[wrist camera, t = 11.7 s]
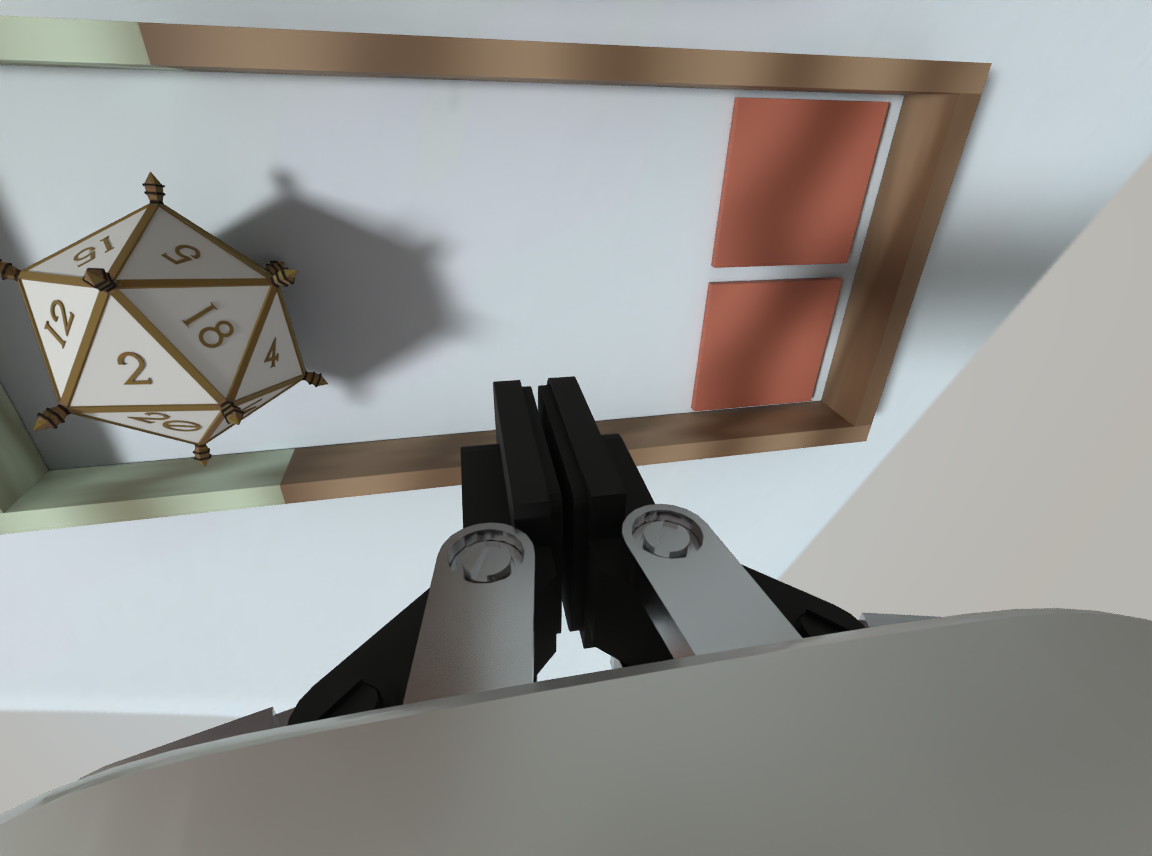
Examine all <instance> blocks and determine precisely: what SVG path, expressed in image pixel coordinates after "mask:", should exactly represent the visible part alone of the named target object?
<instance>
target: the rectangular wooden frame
mask: <svg viewBox="0 0 1152 856" xmlns="http://www.w3.org/2000/svg"><path fill="white" fill-rule="evenodd" d="M991 64H992V63H973V62H953V61H932V60H911V59H890V58H870V57H849V56H828V55H807V54H786V53H766V52H745V51H724V50H703V49H683V48H662V47H641V46H620V45H599V44H579V43H558V42H537V41H516V40H496V39H475V38H454V37H433V36H412V35H392V34H371V33H350V32H329V31H309V30H288V29H267V28H246V27H225V26H205V25H184V24H163V23H142V22H122V21H101V20H80V19H59V18H38V17H18V16H0V65H29V66H59V67H89V68H119V69H149V70H179V71H209V72H239V73H269V74H299V75H328V76H358V77H388V78H418V79H448V80H478V81H508V82H538V83H568V84H598V85H628V86H658V87H687V88H717V89H747V90H777V91H807V92H837V93H867V94H897V95H905V96H904V99H903V103H902V107H901V110H900V114H899V118H898V121H897V125H896V129H895V132H894V136H893V140H892V143H891V147H890V151H889V154H888V158H887V162H886V165H885V169H884V173H883V176H882V180H881V184H880V187H879V191H878V195H877V198H876V202H875V206H874V209H873V213H872V217H871V220H870V224H869V228H868V231H867V235H866V239H865V242H864V246H863V250H862V253H861V257H860V261H859V264H858V268H857V272H856V275H855V279H854V283H853V286H852V290H851V294H850V297H849V301H848V305H847V308H846V312H845V315H844V319H843V323H842V326H841V330H840V334H839V337H838V341H837V345H836V348H835V352H834V356H833V359H832V363H831V367H830V370H829V374H828V378H827V381H826V385H825V389H824V392H823V396H822V400H821V401H816V402H805V403H794V404H782V403H793V402H804V401H811V398H812V394H813V391H814V387H815V383H816V379H817V375H818V372H819V368H820V364H821V360H822V356H823V353H824V349H825V345H826V341H827V337H828V333H829V330H830V326H831V322H832V318H833V314H834V311H835V307H836V303H837V299H838V295H839V292H840V288H841V284H842V280H843V279H841V278H838V277H832V278H808V279H783V280H759V281H734V282H710V283H709V285H708V292H707V299H706V306H705V313H704V320H703V327H702V335H701V342H700V349H699V356H698V363H697V370H696V377H695V384H694V391H693V398H692V405H691V408H692V410H693V411H704V410H715V409H726V408H737V407H748V406H759V405H770V404H782V405H771V406H760V407H749V408H738V409H727V410H716V411H705V412H694V413H683V414H671V415H660V416H649V417H638V418H627V419H616V420H605V421H595V422H596V425H597V427H598V429H599V431H600V434H601V435H603V434H614V433H617V434H620V436H621V437H622V439H623V441H624V443H625V445H626V447H627V449H628V451H629V453H630V455H631V457H632V459H633V461H634V463H635V465H636V466H640V465H649V464H658V463H668V462H677V461H686V460H695V459H705V458H714V457H723V456H732V455H742V454H751V453H760V452H769V451H779V450H788V449H797V448H806V447H816V446H825V445H834V444H843V443H853V442H862V441H866V440H867V437H868V434H869V431H870V428H871V425H872V422H873V419H874V416H875V413H876V410H877V407H878V404H879V401H880V398H881V395H882V392H883V389H884V385H885V382H886V379H887V376H888V373H889V370H890V367H891V364H892V361H893V358H894V355H895V352H896V349H897V346H898V343H899V340H900V337H901V334H902V331H903V328H904V325H905V322H906V319H907V316H908V313H909V310H910V307H911V304H912V301H913V298H914V295H915V292H916V289H917V286H918V283H919V280H920V277H921V274H922V271H923V268H924V265H925V262H926V259H927V256H928V253H929V250H930V247H931V244H932V241H933V238H934V235H935V232H936V229H937V226H938V223H939V220H940V217H941V214H942V211H943V208H944V205H945V202H946V199H947V196H948V193H949V190H950V187H951V184H952V181H953V178H954V175H955V172H956V169H957V166H958V163H959V160H960V157H961V154H962V151H963V148H964V145H965V142H966V139H967V136H968V133H969V130H970V127H971V124H972V121H973V118H974V115H975V112H976V109H977V106H978V103H979V100H980V97H981V94H982V91H983V88H984V85H985V82H986V79H987V76H988V73H989V70H990V67H991ZM888 105H889V102H871V101H838V100H804V99H771V98H735V101H734V108H733V115H732V122H731V129H730V136H729V143H728V150H727V157H726V164H725V171H724V179H723V186H722V193H721V200H720V207H719V214H718V221H717V228H716V235H715V242H714V249H713V257H712V264H711V266H713V267H714V268H721V267H749V266H777V265H806V264H834V263H847V261H848V257H849V253H850V250H851V246H852V242H853V238H854V234H855V231H856V227H857V223H858V219H859V215H860V211H861V208H862V204H863V200H864V196H865V192H866V189H867V185H868V181H869V177H870V173H871V170H872V166H873V162H874V158H875V154H876V150H877V147H878V143H879V139H880V135H881V131H882V128H883V124H884V120H885V116H886V112H887V109H888ZM485 444H497V442H496V430H494V431H483V432H472V433H461V434H449V435H438V436H427V437H416V438H405V439H394V440H383V441H372V442H361V443H350V444H338V445H327V446H316V447H305V448H294V449H283V450H272V451H261V452H250V453H239V454H227V455H216V456H211V458H210V459H209V461H208V463H207V465H206V467H204V466H203V465H202V464H201V463H200V462H198V461H197V460H195V459H193V458H183V459H172V460H161V461H150V462H139V463H127V464H116V465H105V466H94V467H83V468H72V469H61V470H50V471H49V469H48V468H47V466H46V464H45V462H44V460H43V459H42V457H41V455H40V453H39V451H38V450H37V448H36V446H35V444H34V442H33V441H32V439H31V437H30V435H29V433H28V432H27V430H26V428H25V426H24V424H23V423H22V421H21V419H20V417H19V415H18V414H17V412H16V410H15V408H14V406H13V405H12V403H11V401H10V399H9V397H8V396H7V394H6V392H5V390H4V388H3V387H2V385H1V383H0V535H1V534H10V533H20V532H29V531H38V530H47V529H57V528H66V527H75V526H84V525H94V524H103V523H112V522H121V521H131V520H140V519H149V518H158V517H168V516H177V515H186V514H195V513H205V512H214V511H223V510H232V509H242V508H251V507H260V506H269V505H279V504H288V503H297V502H306V501H316V500H325V499H334V498H344V497H353V496H362V495H371V494H381V493H390V492H399V491H408V490H418V489H427V488H436V487H445V486H455V485H462V479H461V451H460V447H462V446H474V445H485Z"/></svg>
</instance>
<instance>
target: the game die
mask: <svg viewBox="0 0 1152 856" xmlns="http://www.w3.org/2000/svg"><path fill="white" fill-rule="evenodd" d="M143 186H145V189H146V192H145V194H147V196H148V198H149V200H150V203H149V204H148V205H146V206H144V207H142V208H140V209H138V210H136V211H134V212H132V213H130V214H128V215H127V216H125V217H123V218H121V219H119V220H117V221H115V222H113V223H111V224H109V225H107V226H106V227H104V228H102V229H100V230H98V231H96V232H94V233H92V234H90V235H88V236H86V237H85V238H83V239H81V240H79V241H77V242H75V243H73V244H71V245H69V246H67V247H65V248H64V249H62V250H60V251H58V252H56V253H54V254H52V255H50V256H48V257H46V258H44V259H43V260H41V261H39V262H37V263H35V264H33V265H31V266H29V267H27V268H25V269H23V270H19V269H17V268H15V267H14V266H12V263H5V262H2V259H0V277H1V278H2V280H5V279H13V280H16V281H17V282H18V284H19V287H20V290H21V293H22V296H23V299H24V302H25V305H26V308H27V311H28V314H29V317H30V320H31V323H32V326H33V329H34V332H35V335H36V338H37V341H38V344H39V347H40V350H41V353H42V356H43V359H44V362H45V365H46V368H47V371H48V374H49V377H50V379H51V382H52V385H53V388H54V391H55V394H56V397H57V400H58V403H59V405H58V406H57V407H54V408H51V409H49V408H47V409H46V411H45V412H43V413H42V414H41V413H38V414H37V416H38V419H37V421H36V423H35V426H34V428H33V430H39V429H46V428H55V429H56V428H58V427H57V425H58V424H59V423H64V422H65V421H64V419H65V418H66V416H67V415H69V414H74V415H78V416H82V417H86V418H90V419H94V420H98V421H102V422H106V423H110V424H114V425H118V426H122V427H126V428H130V429H134V430H138V431H142V432H146V433H150V434H154V435H158V436H162V437H166V438H170V439H174V440H178V441H182V442H186V443H190V444H194V445H195V451H193V453H195V457H194V458H193V459H195V460H197V461H198V462H200V463H201V464H202V465H203V466H204V467H206V465H207V463H208V461H209V459H210V458H211V454H209V452H210V448H208V447H207V446H206V443H208V442H209V441H211V440H212V439H214V438H215V437H217V436H218V435H220V434H221V433H223V432H224V431H226V430H227V429H229V428H230V427H232V426H233V425H235V424H237V425H239V424H240V422H241V420H243V419H244V418H246V417H247V416H249V415H250V414H252V413H253V412H255V411H256V410H258V409H259V408H261V407H262V406H264V405H265V404H267V403H268V402H270V401H271V400H273V399H274V398H276V397H277V396H279V395H280V394H282V393H283V392H285V391H286V390H288V389H289V388H291V387H292V386H294V385H295V384H297V383H298V382H300V381H301V380H306V381H307V382H308V383H309V384H310V385H311V384H313V385H315V387H317V386H320V385H326V384H328V383H327V382H326V380H325V379H324V378H323V377H322V376H321V373H320V374H317V373H315V372H307V371H306V370H305V367H304V364H303V360H302V357H301V354H300V350H299V347H298V344H297V341H296V337H295V334H294V331H293V327H292V324H291V321H290V318H289V314H288V311H287V308H286V304H285V301H284V298H283V294H282V291H281V288H280V286H285V287H287V286H288V284H290V283H291V284H294V280H295V276H296V274H297V271H298V270H292V269H288V268H283V265H284V262H278V261H270V264H266V266H267V267H266V268H263V267H261V266H260V265H258V264H257V263H255V262H254V261H252V260H250V259H249V258H247V257H246V256H244V255H243V254H241V253H239V252H238V251H236V250H235V249H233V248H232V247H230V246H229V245H227V244H225V243H224V242H222V241H221V240H219V239H218V238H216V237H214V236H213V235H211V234H210V233H208V232H207V231H205V230H203V229H202V228H200V227H199V226H197V225H196V224H194V223H192V222H191V221H189V220H188V219H186V218H185V217H183V216H182V215H180V214H178V213H177V212H175V211H174V210H172V209H171V208H169V207H167V206H166V205H164V203H163V196H164V195H165V193H163V187H165V186H164V185H162V184H161V183H160V182H159V181H158V180H157V179H156V177H155V176H154V175H153V174H152V173H151V172H150V173H149V175H148V177H147V179H146V181H145V183H144V184H143Z"/></svg>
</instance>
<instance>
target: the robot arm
mask: <svg viewBox="0 0 1152 856" xmlns="http://www.w3.org/2000/svg"><path fill="white" fill-rule="evenodd" d="M493 392H494V409H495V425H496V442H497V444H485V445H474V446H462V447H460V451H461V479H462V507H463V529H461V530H460V531H458V532H457V533H455V534H453V535H452V536H450V537H449V539H448V540H447V541H446V542H445V543H444V544H443V545H442V547H441V549H440V551H439V553H438V556H437V560H436V564H435V569H434V573H433V577H432V581H431V586H430V588H429V589H428V590H427V591H425V592H424V593H423V594H422V595H421V596H419V597H418V598H417V599H416V600H415V601H413V602H412V603H411V604H410V605H409V606H408V607H406V608H405V609H404V610H403V611H402V612H400V613H399V614H398V615H397V616H396V617H395V618H393V619H392V620H391V621H390V622H389V623H387V624H386V625H385V626H384V627H383V628H381V629H380V630H379V631H378V632H377V633H376V634H374V635H373V636H372V637H371V638H370V639H368V640H367V641H366V642H365V643H364V644H363V645H361V646H360V647H359V648H358V649H357V650H355V651H354V652H353V653H352V654H351V655H349V656H348V657H347V658H346V659H345V660H344V661H342V662H341V663H340V664H339V665H338V666H336V667H335V668H334V669H333V670H332V671H331V672H329V673H328V674H327V675H326V676H325V677H323V678H322V679H321V680H320V681H319V682H317V683H316V684H315V685H314V686H313V687H312V688H311V689H310V690H309V691H308V692H307V693H306V694H305V695H304V696H303V697H302V698H301V699H300V701H299V702H298V704H297V705H296V707H295V708H292V709H290V710H287V711H284V712H281V713H279V714H276V713H275V711H274V708H273V707H271V708H268V709H265V710H262V711H259V712H256V713H254V714H251V715H248V716H245V717H242V718H239V719H237V720H234V721H231V722H229V723H225V724H223V725H220V726H217V727H214V728H211V729H208V730H206V731H203V732H200V733H197V734H194V735H192V736H189V737H186V738H183V739H180V740H177V741H174V742H172V743H169V744H166V745H163V746H161V747H157V748H155V749H152V750H149V751H146V752H143V753H141V754H138V755H135V756H132V757H129V758H127V759H124V760H121V761H118V762H115V763H112V764H110V765H107V766H104V767H102V768H100V769H98V770H96V771H94V772H92V773H90V774H88V775H86V776H84V777H82V778H80V779H79V780H77V781H75V782H73V783H70V784H67V785H65V786H62V787H59V788H57V789H54V790H51V791H49V792H46V793H44V794H42V795H40V796H38V797H36V798H34V799H32V800H30V801H27V802H25V803H23V804H21V805H19V806H17V807H15V808H13V809H11V810H9V811H6V812H4V813H2V814H0V856H1152V621H1151V620H1147V619H1141V618H1135V617H1130V616H1124V615H1118V614H1112V613H1106V612H1100V611H1092V610H1091V611H1090V610H1076V609H1060V608H1044V609H1011V610H1002V611H992V612H982V613H971V614H961V615H954V616H947V617H934V616H915V615H897V614H877V613H862V614H861V616H860V619H859V620H857V619H856V618H855V617H854V616H852V615H851V614H850V613H848V612H846V611H844V610H843V609H841V608H839V607H837V606H835V605H833V604H831V603H829V602H827V601H824V600H822V599H820V598H817V597H815V596H813V595H810V594H808V593H806V592H804V591H801V590H799V589H797V588H794V587H792V586H790V585H787V584H785V583H783V582H780V581H778V580H776V579H774V578H771V577H769V576H767V575H764V574H762V573H760V572H757V571H755V570H753V569H751V568H748V567H746V566H744V565H741V564H740V563H739V561H738V560H737V559H736V558H735V557H734V555H733V554H732V553H731V552H730V551H729V549H728V548H727V547H726V546H725V545H724V543H723V542H722V541H721V540H720V539H719V537H718V536H717V535H716V534H715V533H714V531H713V530H712V529H711V528H710V527H709V525H708V524H707V523H706V522H705V521H704V520H703V519H701V518H700V517H699V516H698V515H696V514H695V513H693V512H691V511H689V510H687V509H685V508H681V507H678V506H675V505H667V504H655V503H654V501H653V499H652V497H651V495H650V493H649V491H648V489H647V487H646V485H645V483H644V481H643V479H642V477H641V475H640V473H639V471H638V469H637V467H636V465H635V463H634V461H633V459H632V457H631V455H630V453H629V451H628V449H627V447H626V445H625V443H624V441H623V439H622V437H621V436H620V434H617V433H614V434H603V435H601V434H600V431H599V429H598V427H597V425H596V422H595V420H594V418H593V416H592V413H591V411H590V409H589V407H588V405H587V402H586V400H585V398H584V396H583V393H582V391H581V389H580V387H579V384H578V382H577V380H576V378H575V376H574V377H559V378H548V381H547V385H542V386H538V409H537V406H536V402H535V399H534V395H533V392H532V388H531V386H527V387H522V386H521V382H520V380H513V381H498V382H493ZM562 602H563V607H564V611H565V616H566V620H567V625H568V628H569V631H570V632H571V631H578V630H579V631H580V635H581V639H582V643H583V647H584V649H586V648H592V647H597V648H599V649H600V650H602V651H604V652H605V653H607V654H609V655H611V660H610V663H611V667H612V669H611V670H605V671H599V672H593V673H587V674H581V675H575V676H569V677H563V678H557V679H551V680H545V681H539V682H537V674H538V673H539V672H540V670H541V669H542V668H543V667H544V666H545V664H546V663H547V662H548V661H549V659H550V658H551V657H552V656H553V655H554V653H555V652H556V634H558V633H561V618H562Z"/></svg>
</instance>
